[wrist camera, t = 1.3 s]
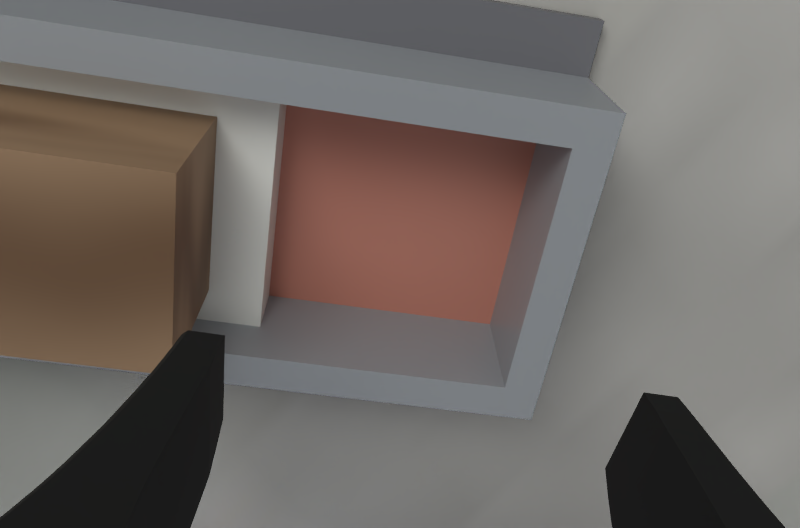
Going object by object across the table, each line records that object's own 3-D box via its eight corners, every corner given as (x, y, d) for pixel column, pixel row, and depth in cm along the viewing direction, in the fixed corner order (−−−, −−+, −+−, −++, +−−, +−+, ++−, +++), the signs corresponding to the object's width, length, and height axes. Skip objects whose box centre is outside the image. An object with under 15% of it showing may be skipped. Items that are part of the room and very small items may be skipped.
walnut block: (208, 290, 20) (171, 375, 17) (-14, 261, 20) (-102, 343, 16) (217, 117, 18) (176, 173, 15) (-35, 78, 18) (-141, 128, 14)
